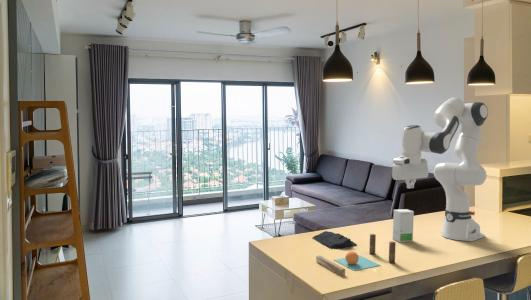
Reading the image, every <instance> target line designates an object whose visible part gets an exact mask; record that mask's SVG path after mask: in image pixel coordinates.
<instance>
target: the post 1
mask: <svg viewBox="0 0 531 300" xmlns="http://www.w3.org/2000/svg"><path fill="white" fill-rule="evenodd" d="M376 238H377V236H376V234H375V233H370V234H369V255H373V256H374V255H376V243H377V241H376Z"/></svg>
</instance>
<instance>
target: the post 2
mask: <svg viewBox="0 0 531 300" xmlns="http://www.w3.org/2000/svg"><path fill="white" fill-rule="evenodd" d="M396 242H397V241H389V242H388V263H389V264H392V265H394V264H396V244H397V243H396Z"/></svg>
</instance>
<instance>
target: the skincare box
mask: <svg viewBox="0 0 531 300" xmlns="http://www.w3.org/2000/svg"><path fill="white" fill-rule="evenodd" d="M414 214H415V211H413V210H410V209H408V208H405V209H402V208H401V209H400V208H398V209H393V217H392V240H394V241H395V242H398V243H408V242H414V240H413V239H414V221H415V220H414V216H415V215H414Z"/></svg>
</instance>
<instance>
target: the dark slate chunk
mask: <svg viewBox="0 0 531 300" xmlns="http://www.w3.org/2000/svg"><path fill="white" fill-rule="evenodd" d="M312 240H314V241H316V242H318V243H319V244H321V245H323V246H325V247H326V248H327V249H330V250H339V249H349V248H353V247H357V243H356V242H354V241H353V240H351V238H348V237H347V236H344V235H342V234H341V233H336V232H333V231H327V230H326V231H323V232H321V233H318V234H317V235H314V236H313V237H312Z"/></svg>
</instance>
